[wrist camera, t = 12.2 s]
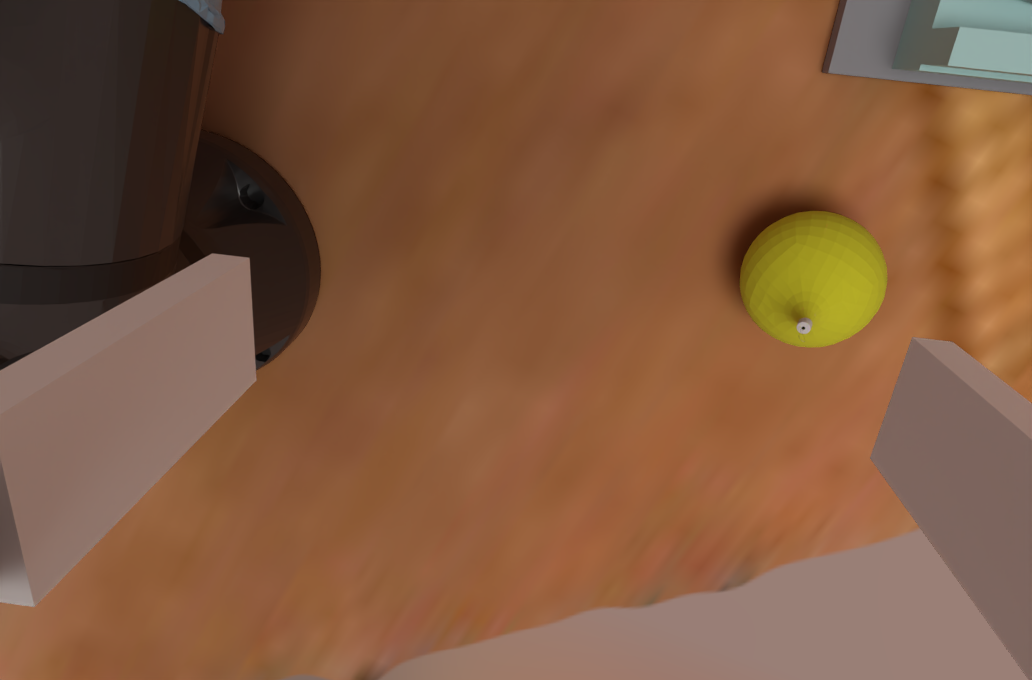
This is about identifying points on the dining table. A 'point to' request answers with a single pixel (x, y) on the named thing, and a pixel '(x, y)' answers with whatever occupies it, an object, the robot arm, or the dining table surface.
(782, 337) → the ornament
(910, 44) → the display stand
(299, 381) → the dining table surface
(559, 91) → the dining table surface
